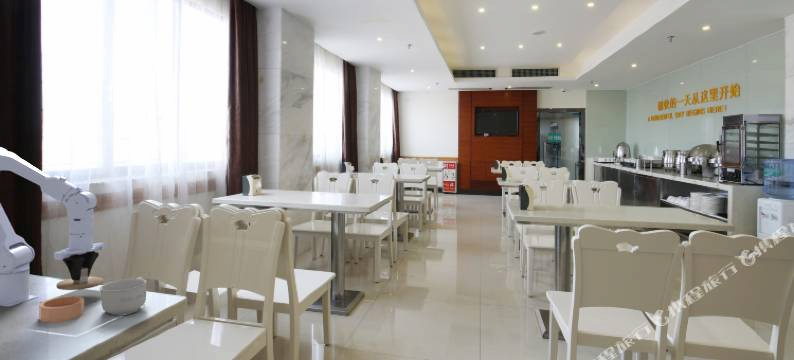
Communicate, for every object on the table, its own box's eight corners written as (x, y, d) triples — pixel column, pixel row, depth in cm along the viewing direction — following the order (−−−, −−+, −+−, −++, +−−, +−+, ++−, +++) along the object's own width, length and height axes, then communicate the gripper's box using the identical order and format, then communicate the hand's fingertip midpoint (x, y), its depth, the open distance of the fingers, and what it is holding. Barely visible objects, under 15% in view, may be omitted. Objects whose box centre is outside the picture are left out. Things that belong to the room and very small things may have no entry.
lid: (46, 287, 118) (46, 271, 118) (81, 277, 129) (81, 262, 129) (79, 291, 117) (79, 275, 116) (112, 280, 128) (112, 265, 127)
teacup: (123, 321, 110) (124, 291, 109) (89, 316, 112) (89, 286, 111) (163, 303, 123) (163, 277, 123) (131, 299, 125) (132, 273, 125)
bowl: (30, 321, 107) (30, 305, 106) (63, 308, 115) (63, 294, 115) (60, 325, 105) (60, 309, 105) (91, 312, 114) (91, 298, 114)
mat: (39, 303, 118) (39, 302, 118) (81, 289, 131) (81, 288, 131) (79, 309, 116) (79, 307, 116) (117, 294, 129) (117, 293, 129)
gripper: (69, 238, 114) (68, 287, 115) (113, 229, 129) (112, 273, 129) (47, 236, 115) (47, 284, 116) (93, 227, 130) (93, 270, 131)
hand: (80, 278), depth 123 cm, fingers closed on lid, 2 cm apart
